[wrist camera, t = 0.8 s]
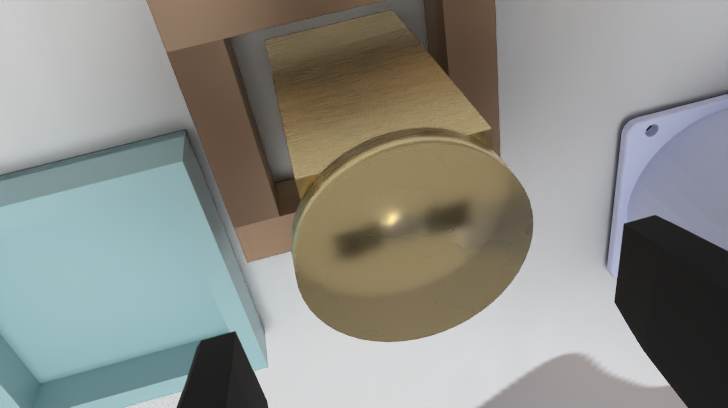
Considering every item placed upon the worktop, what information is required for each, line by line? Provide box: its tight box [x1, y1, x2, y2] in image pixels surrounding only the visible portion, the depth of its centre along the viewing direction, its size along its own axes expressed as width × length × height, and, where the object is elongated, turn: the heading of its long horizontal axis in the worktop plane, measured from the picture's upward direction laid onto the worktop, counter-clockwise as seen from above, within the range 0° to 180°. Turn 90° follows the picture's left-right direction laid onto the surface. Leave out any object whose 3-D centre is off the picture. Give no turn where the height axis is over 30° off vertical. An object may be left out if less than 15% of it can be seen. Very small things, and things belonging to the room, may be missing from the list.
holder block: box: [147, 0, 500, 263], centre depth 18 cm, size 9×9×2 cm
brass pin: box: [265, 10, 533, 342], centre depth 16 cm, size 5×5×9 cm
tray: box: [0, 130, 268, 408], centre depth 21 cm, size 10×10×2 cm
